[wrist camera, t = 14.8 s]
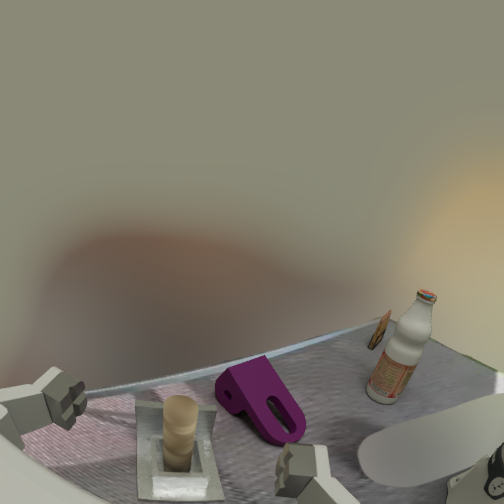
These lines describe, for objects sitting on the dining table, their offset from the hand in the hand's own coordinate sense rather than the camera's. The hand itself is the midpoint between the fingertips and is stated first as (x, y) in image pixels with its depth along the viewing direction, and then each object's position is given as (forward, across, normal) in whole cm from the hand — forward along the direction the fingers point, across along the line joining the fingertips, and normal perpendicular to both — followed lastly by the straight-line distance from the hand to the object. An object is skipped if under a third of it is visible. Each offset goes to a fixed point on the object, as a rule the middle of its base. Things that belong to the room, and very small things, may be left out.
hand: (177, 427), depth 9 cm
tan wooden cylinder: (+16, +3, +31) cm, 35 cm away
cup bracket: (+16, +3, +32) cm, 36 cm away
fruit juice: (+46, -39, +32) cm, 69 cm away
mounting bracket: (+34, -9, +32) cm, 47 cm away
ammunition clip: (+74, -46, +32) cm, 93 cm away
